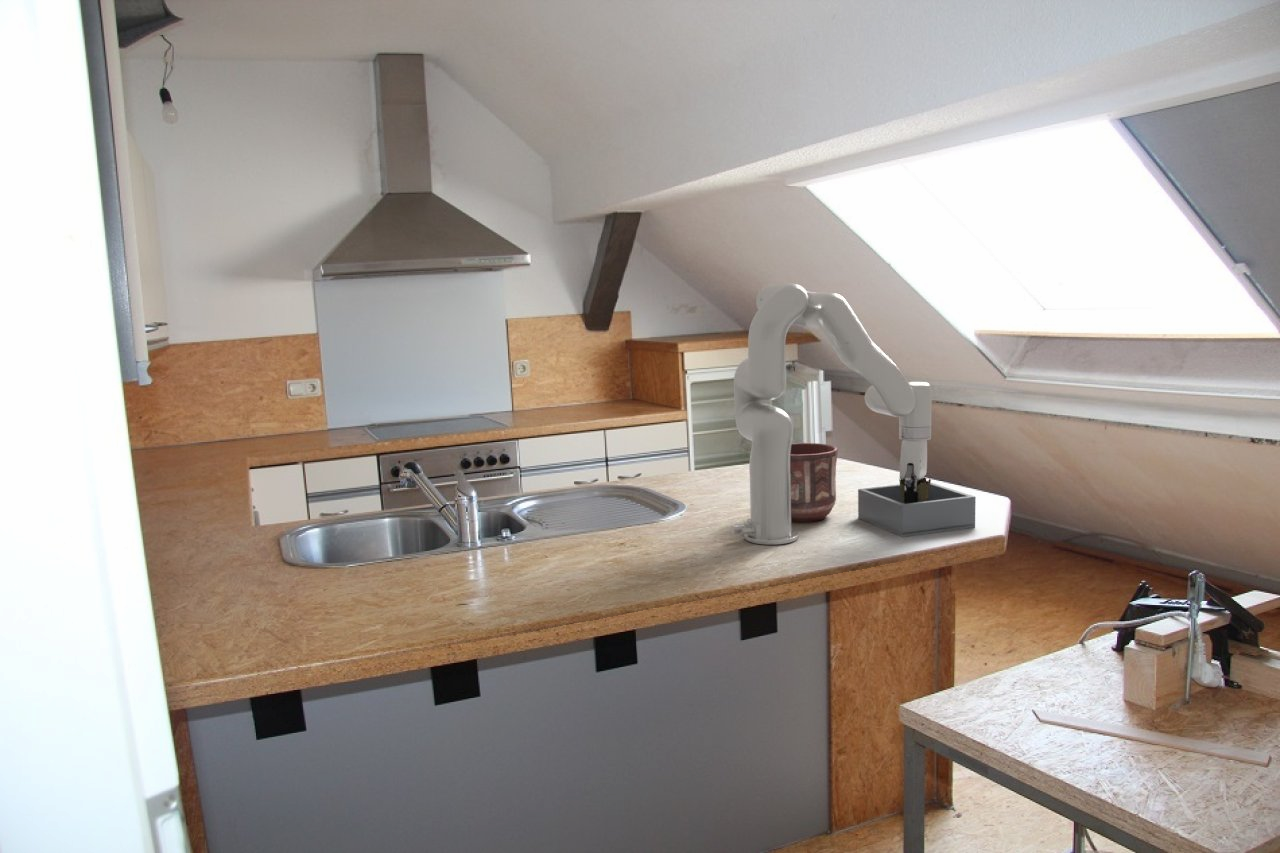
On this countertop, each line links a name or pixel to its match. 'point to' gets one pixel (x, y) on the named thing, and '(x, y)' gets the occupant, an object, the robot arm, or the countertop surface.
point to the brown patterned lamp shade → (918, 489)
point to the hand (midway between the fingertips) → (914, 503)
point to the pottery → (812, 481)
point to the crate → (916, 510)
